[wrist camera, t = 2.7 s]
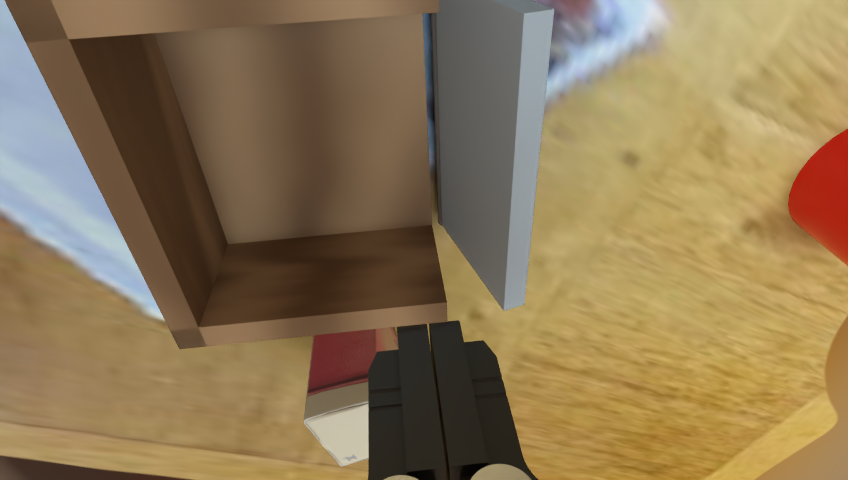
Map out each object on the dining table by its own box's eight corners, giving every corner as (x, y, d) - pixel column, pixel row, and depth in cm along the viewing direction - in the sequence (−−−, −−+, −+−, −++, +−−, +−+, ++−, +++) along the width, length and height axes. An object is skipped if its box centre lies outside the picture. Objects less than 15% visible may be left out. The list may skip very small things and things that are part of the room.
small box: (402, 343, 35) (411, 450, 28) (344, 361, 35) (341, 469, 29) (375, 293, 32) (378, 400, 25) (312, 314, 32) (300, 423, 26)
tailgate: (435, 218, 28) (503, 314, 22) (425, -33, 21) (524, 6, 14) (452, 214, 28) (523, 307, 22) (448, -36, 21) (554, 1, 15)
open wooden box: (217, 247, 28) (179, 349, 22) (111, -44, 20) (3, -3, 14) (429, 227, 29) (447, 321, 23) (415, -63, 20) (438, -33, 14)
